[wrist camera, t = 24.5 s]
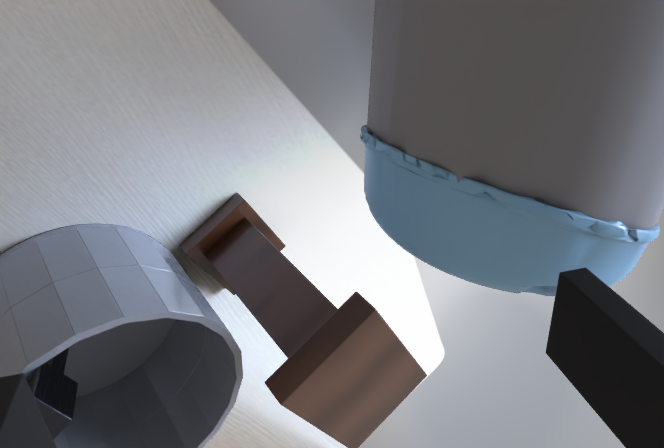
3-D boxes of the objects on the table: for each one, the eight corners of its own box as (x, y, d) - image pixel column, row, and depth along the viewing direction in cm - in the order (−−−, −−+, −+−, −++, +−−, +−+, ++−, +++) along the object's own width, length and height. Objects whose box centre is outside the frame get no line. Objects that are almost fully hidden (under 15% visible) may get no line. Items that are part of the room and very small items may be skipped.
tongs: (73, 420, 30) (32, 396, 28) (30, 463, 29) (-13, 440, 28) (90, 307, 44) (63, 287, 43) (61, 335, 44) (34, 317, 43)
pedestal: (286, 240, 56) (427, 375, 42) (229, 294, 55) (354, 452, 41) (223, 168, 47) (375, 309, 33) (153, 231, 46) (280, 404, 32)
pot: (126, 182, 42) (187, 262, 34) (211, 316, 55) (270, 398, 47) (-116, 319, 37) (-111, 453, 29) (40, 433, 49) (74, 549, 41)
